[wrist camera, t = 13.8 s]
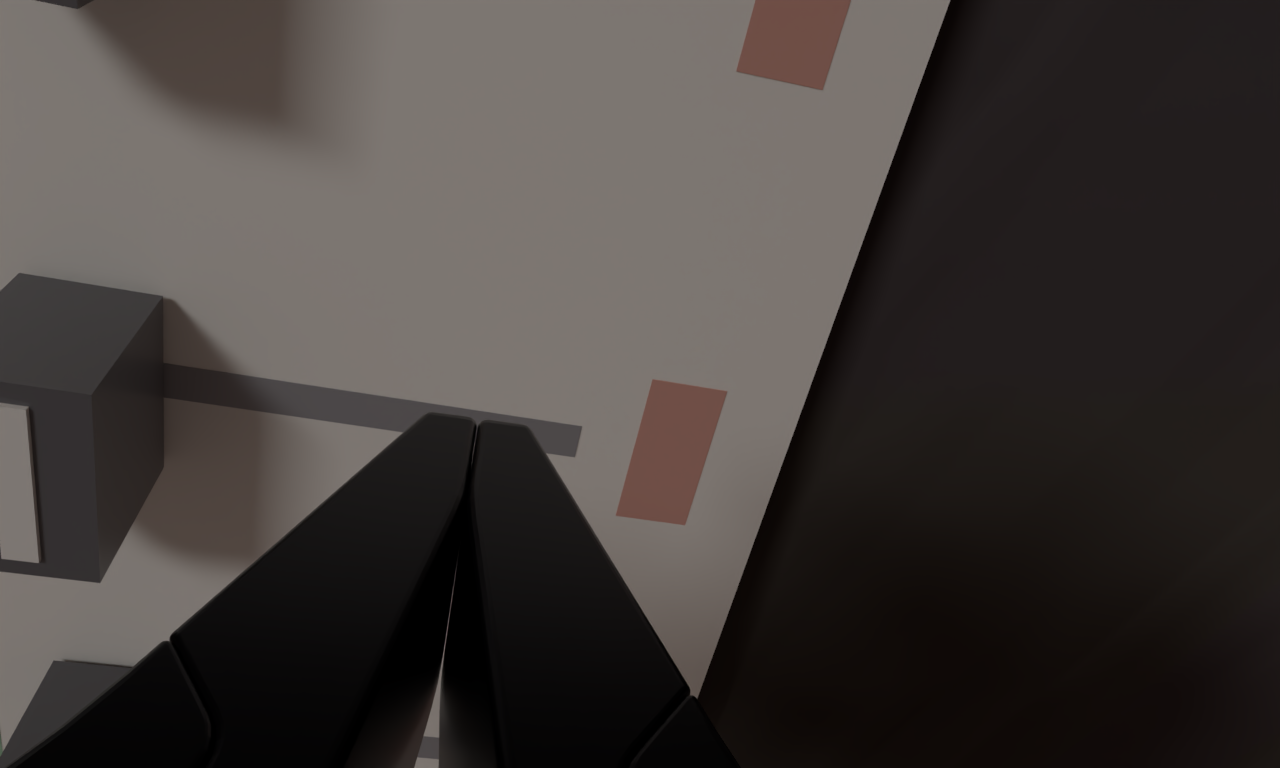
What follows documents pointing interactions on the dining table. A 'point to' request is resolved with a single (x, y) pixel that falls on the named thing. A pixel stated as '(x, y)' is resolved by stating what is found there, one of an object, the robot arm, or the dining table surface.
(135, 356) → the block
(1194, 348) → the dining table surface
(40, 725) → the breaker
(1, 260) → the switch panel
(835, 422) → the dining table surface
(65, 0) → the block
